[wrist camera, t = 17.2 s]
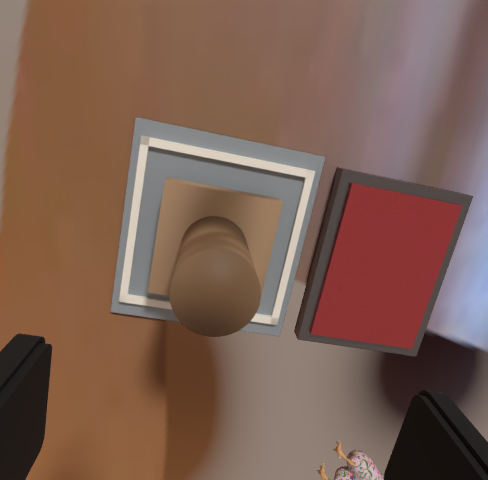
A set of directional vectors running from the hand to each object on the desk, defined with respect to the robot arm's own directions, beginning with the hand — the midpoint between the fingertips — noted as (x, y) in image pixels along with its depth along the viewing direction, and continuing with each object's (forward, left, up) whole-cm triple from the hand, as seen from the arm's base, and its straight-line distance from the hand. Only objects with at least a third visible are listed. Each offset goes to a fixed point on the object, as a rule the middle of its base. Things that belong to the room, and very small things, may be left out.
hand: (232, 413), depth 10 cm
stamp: (0, 0, -17) cm, 17 cm away
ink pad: (-11, 0, -17) cm, 21 cm away
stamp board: (0, 0, -17) cm, 17 cm away
